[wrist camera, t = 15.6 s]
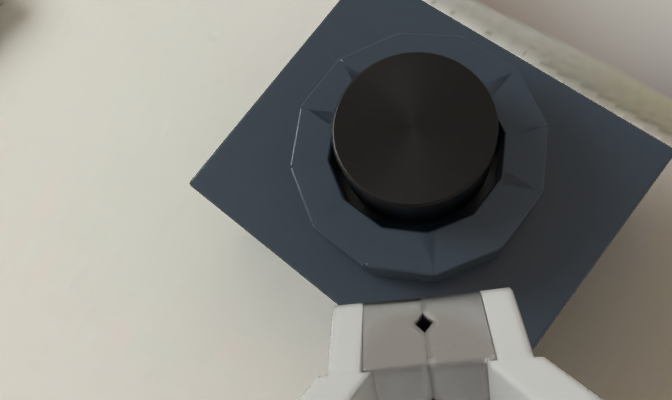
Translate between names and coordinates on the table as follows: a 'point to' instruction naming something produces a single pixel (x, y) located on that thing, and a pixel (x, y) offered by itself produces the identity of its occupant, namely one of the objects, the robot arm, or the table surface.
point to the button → (415, 136)
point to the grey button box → (466, 224)
